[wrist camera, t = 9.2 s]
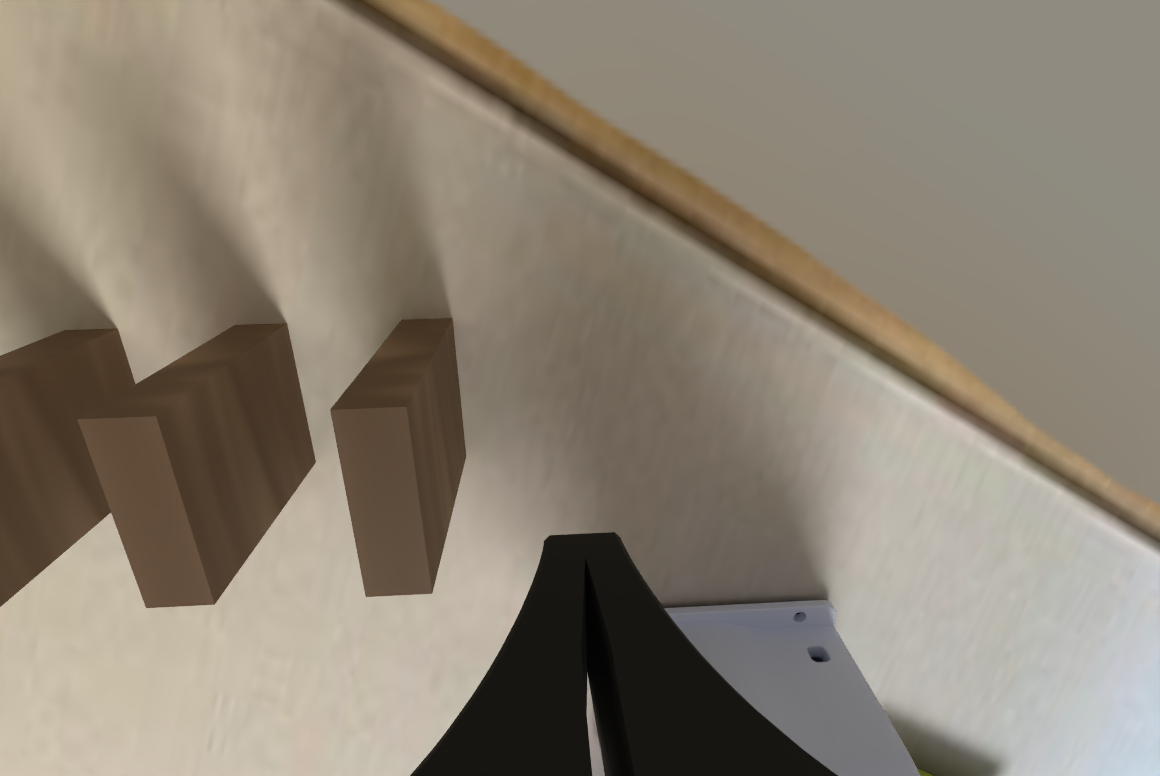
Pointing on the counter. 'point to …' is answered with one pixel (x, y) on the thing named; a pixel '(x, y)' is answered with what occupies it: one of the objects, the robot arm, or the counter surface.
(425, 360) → the domino
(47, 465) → the domino
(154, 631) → the counter surface
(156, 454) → the domino
